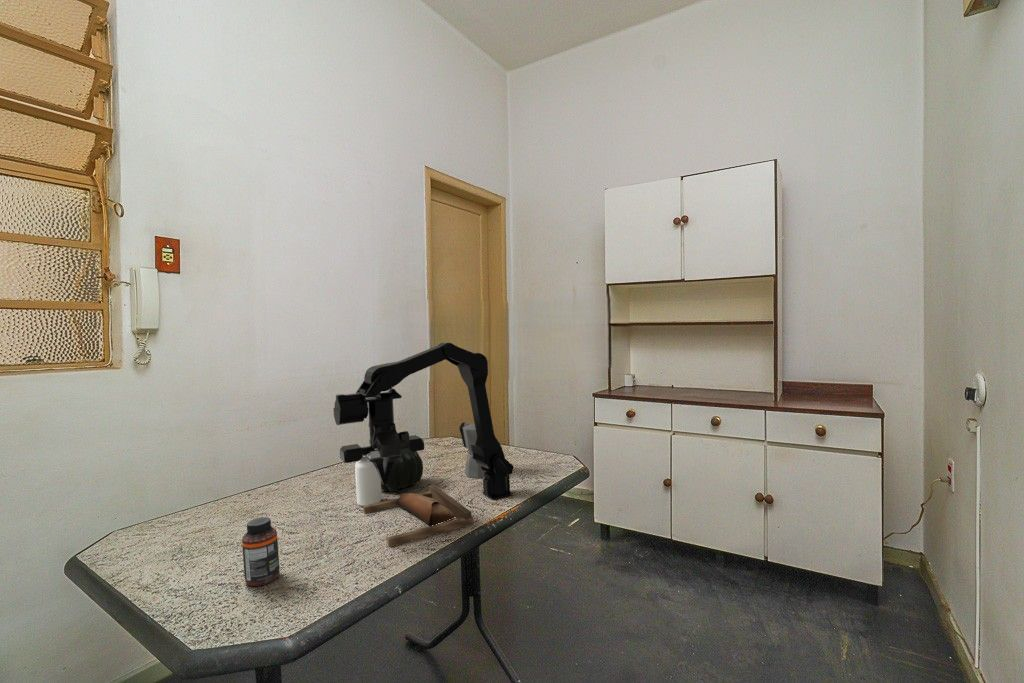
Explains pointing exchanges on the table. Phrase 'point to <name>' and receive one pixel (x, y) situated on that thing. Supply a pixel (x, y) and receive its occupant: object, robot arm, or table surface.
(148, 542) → the table surface
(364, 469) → the can
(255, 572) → the supplement bottle
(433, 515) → the sunglasses case
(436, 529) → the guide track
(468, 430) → the coffeepot
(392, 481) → the squash
